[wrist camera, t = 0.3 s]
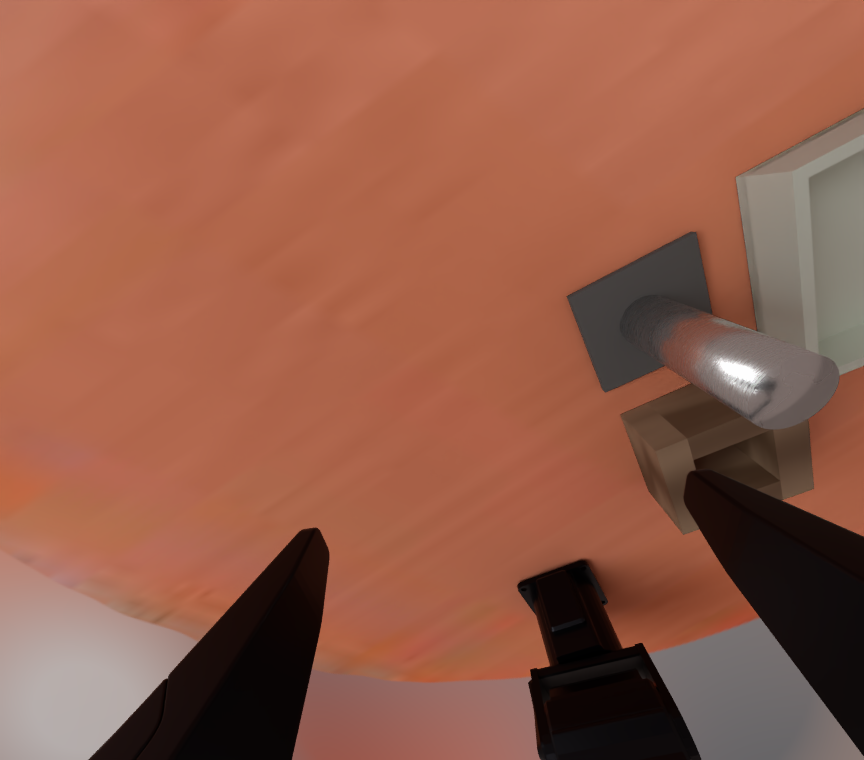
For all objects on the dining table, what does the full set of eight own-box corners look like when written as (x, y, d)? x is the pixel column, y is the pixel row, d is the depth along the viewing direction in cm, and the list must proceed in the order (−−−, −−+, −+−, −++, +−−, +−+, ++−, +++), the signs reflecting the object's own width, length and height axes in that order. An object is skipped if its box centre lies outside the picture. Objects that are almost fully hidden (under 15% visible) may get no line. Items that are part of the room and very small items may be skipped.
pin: (677, 329, 21) (840, 407, 13) (627, 353, 21) (752, 441, 13) (666, 285, 19) (838, 339, 11) (613, 310, 20) (742, 380, 12)
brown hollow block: (758, 449, 25) (813, 488, 22) (648, 491, 27) (683, 534, 23) (743, 360, 22) (805, 390, 18) (620, 414, 24) (655, 451, 20)
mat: (712, 339, 21) (717, 341, 21) (602, 389, 23) (605, 392, 22) (690, 231, 19) (696, 232, 18) (566, 296, 20) (569, 297, 20)
